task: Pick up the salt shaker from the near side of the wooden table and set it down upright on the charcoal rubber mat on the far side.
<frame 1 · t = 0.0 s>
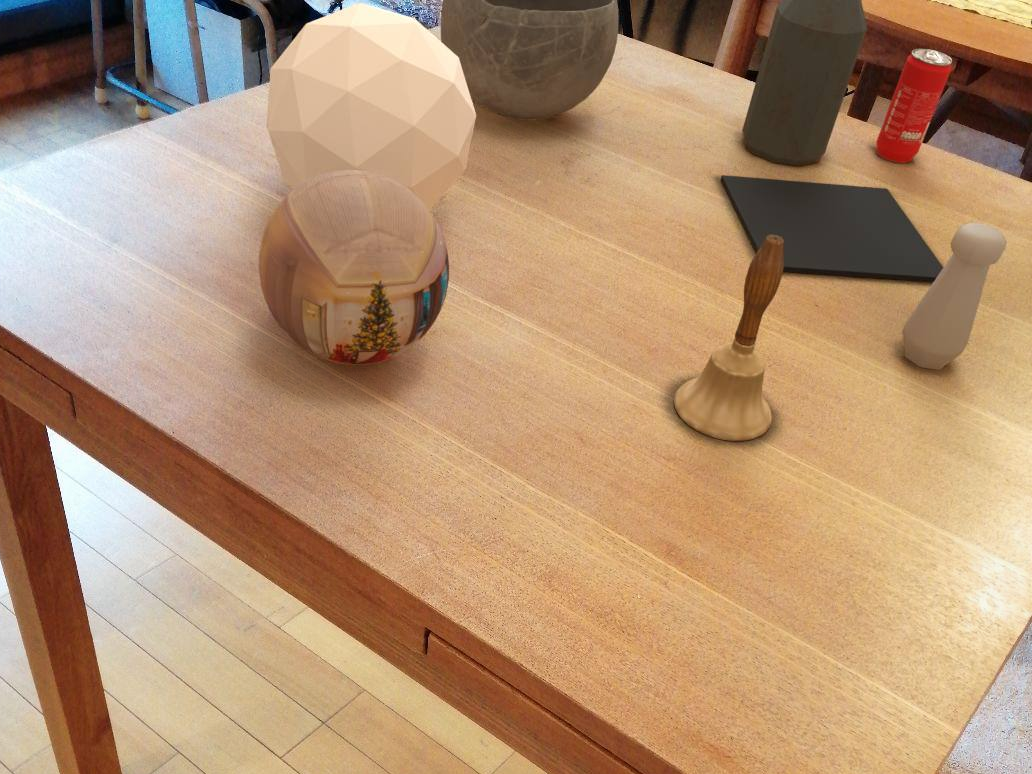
hand: (1023, 6, 87), 29 cm above the table, tool pointing down, fingers open, 9 cm apart
ball: (366, 214, 109), on the table
hand bell: (721, 412, 92), on the table
bowl: (518, 110, 132), on the table
ornament: (352, 350, 92), on the table
bottle: (780, 150, 133), on the table
beverage can: (893, 156, 136), on the table
salt shaker: (924, 358, 102), on the table
mat: (829, 229, 119), on the table
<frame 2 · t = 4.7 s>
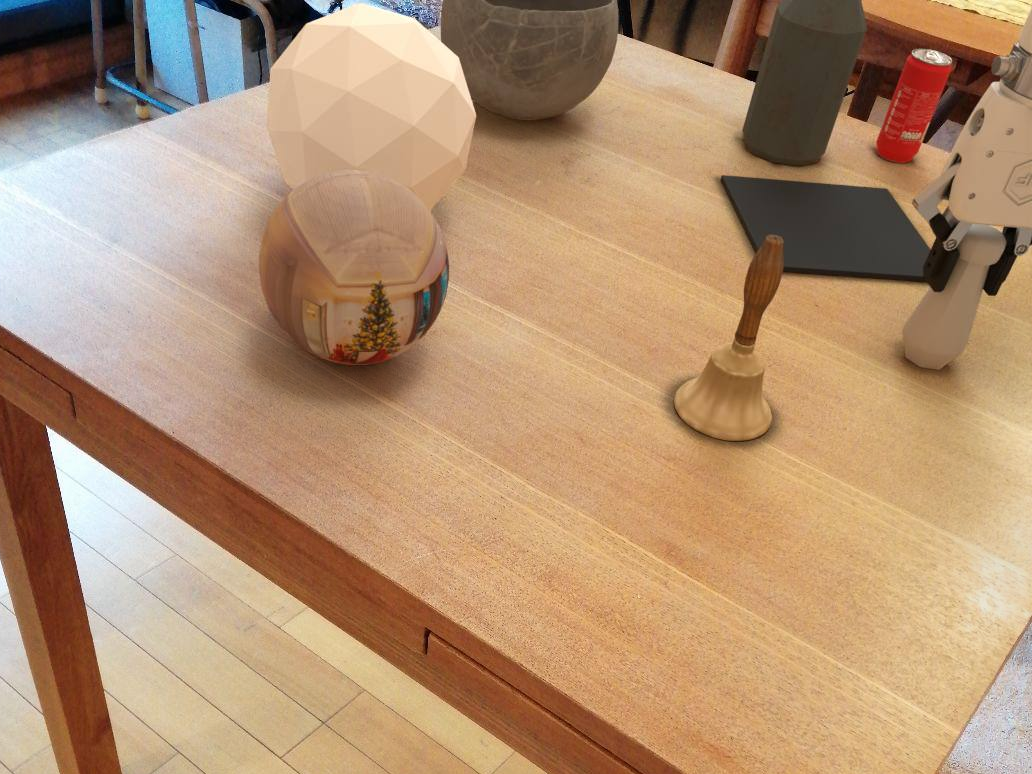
hand: (959, 284, 96), 8 cm above the table, tool pointing down, fingers closed on salt shaker, 4 cm apart
salt shaker: (924, 358, 102), on the table, touching gripper
everything else where it was.
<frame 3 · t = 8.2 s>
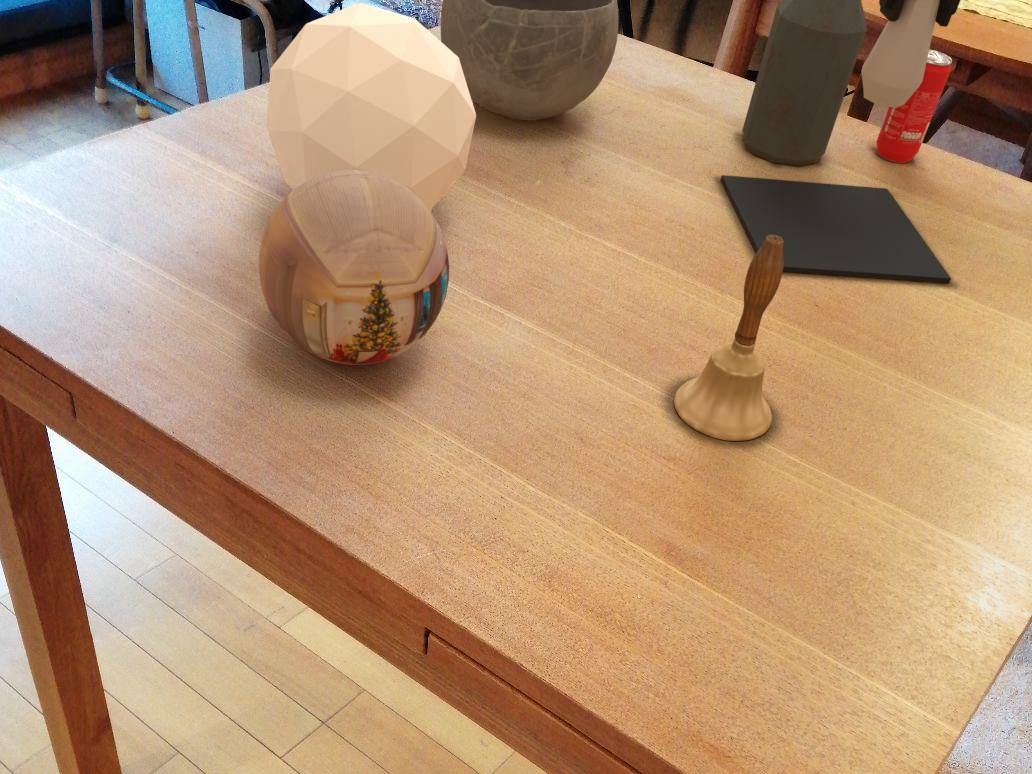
hand: (913, 16, 102), 22 cm above the table, tool pointing down, fingers closed on salt shaker, 4 cm apart
salt shaker: (882, 100, 108), point 15 cm above the table, touching gripper
everything else where it was.
when the fingers open (8 cm above the table, at t = 11.7 s): salt shaker stays where it is, resting on mat.
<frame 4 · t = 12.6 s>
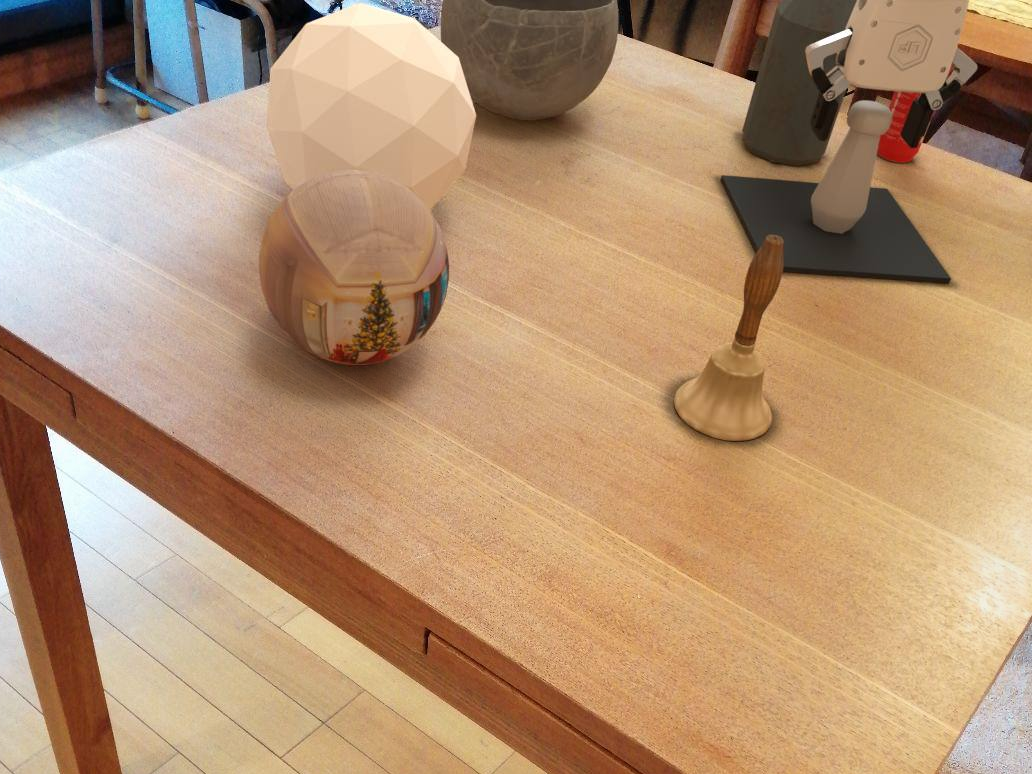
hand: (863, 138, 112), 10 cm above the table, tool pointing down, fingers open, 9 cm apart
salt shaker: (830, 225, 118), resting on mat
everything else where it was.
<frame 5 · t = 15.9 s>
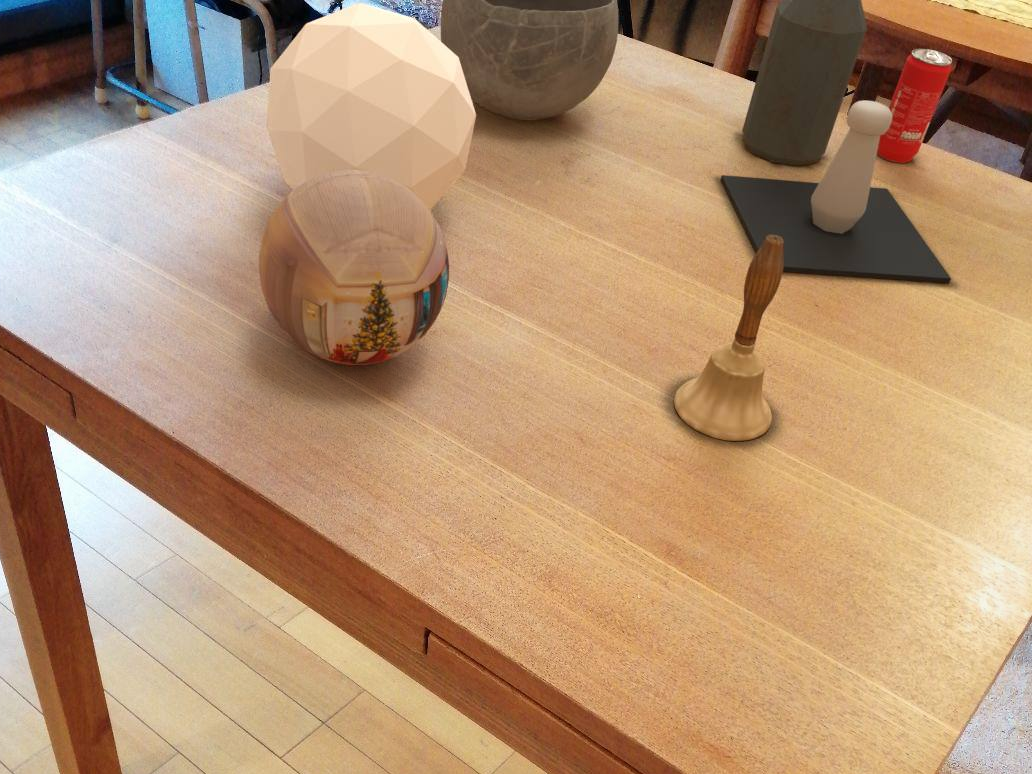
nothing on the table moved.
at the end: salt shaker inside the target area on the mat (0.0 cm from its centre), point 0.4 cm above the mat's base; salt shaker tilted 0°; the gripper is holding nothing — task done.
